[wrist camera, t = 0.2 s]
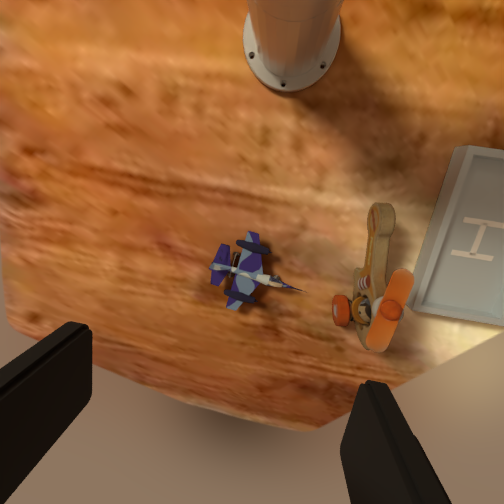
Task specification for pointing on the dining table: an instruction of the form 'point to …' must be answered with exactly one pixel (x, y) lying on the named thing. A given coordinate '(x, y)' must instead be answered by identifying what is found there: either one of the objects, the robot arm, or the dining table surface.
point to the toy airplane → (243, 271)
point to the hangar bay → (465, 242)
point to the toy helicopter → (375, 287)
